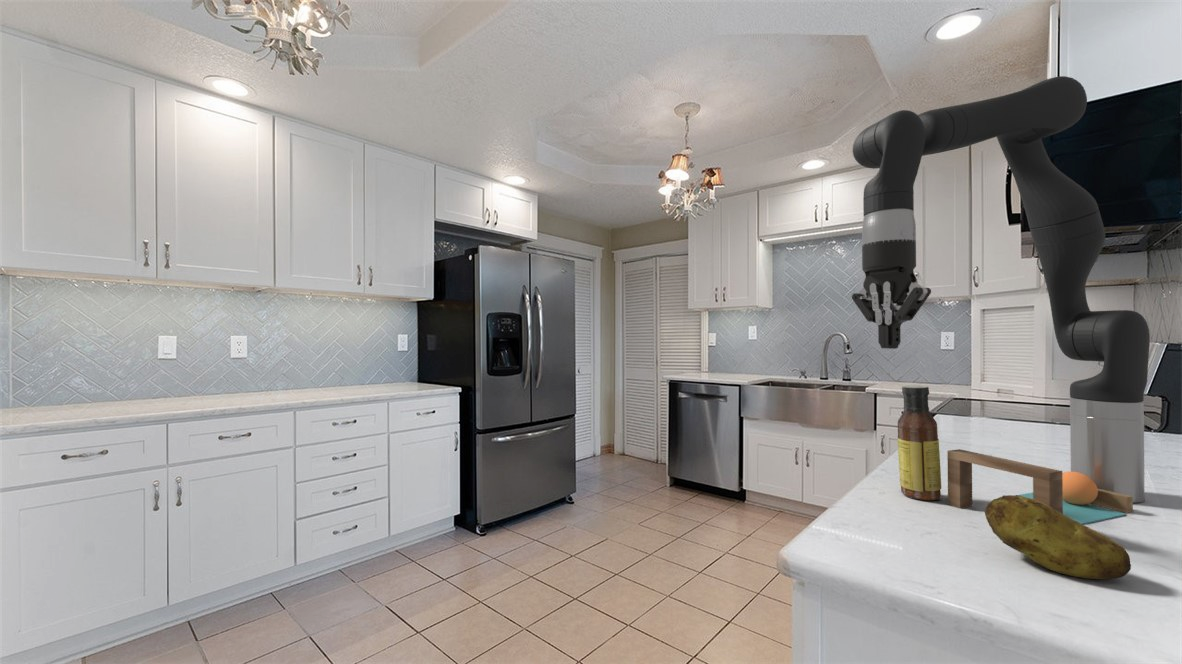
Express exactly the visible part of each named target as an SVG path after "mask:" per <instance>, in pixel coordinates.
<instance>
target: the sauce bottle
mask: <svg viewBox="0 0 1182 664" xmlns="http://www.w3.org/2000/svg"><path fill="white" fill-rule="evenodd" d="M929 389H930V388H929V386H928V385H916V384H914V385H913V384H910V385H903V386H902V387H901V393H902V394H903V412H902V413H901V415H900V417H899V418H898V420H897V450H898V451H897V453H898V468H899V485H900V489H901V493H902V494H903V495H904V496H906V497H908V498H910V499H915V500H920V501H938V500H940V499H941V496H942V493H941V489H942V477H941V476H942V475H941V473H942V471H941V455H940V454H941V453H940V440H939V433H938V423H937V421H936V420H935V418H934V417H933V415H932V413H931V412H930V407H929V394H930V390H929Z"/></svg>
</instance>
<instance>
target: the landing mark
mask: <svg viewBox="0 0 1182 664" xmlns="http://www.w3.org/2000/svg"><path fill="white" fill-rule="evenodd" d="M1019 495H1020V496H1023V497H1027V498H1031V499H1033V492H1029V493H1028V492H1027V493H1023V494H1022V493H1021V494H1019ZM994 499H995V498H993V499H992V500H994ZM1063 514H1064V515H1065V516H1067V517H1069V518H1071V519H1073V520H1074V521H1077V522H1079V523H1080V524H1082V525H1087V524H1091V523H1096V522H1101V521H1105V520H1111V519H1115V518H1120V517H1124V516H1127V514H1126V513H1125V512H1121V511H1117V510H1113V509H1109V508H1105V507H1101V506H1097V505H1093V504H1086V505H1075V504H1070V503H1067V502H1065V501H1064V500H1063Z"/></svg>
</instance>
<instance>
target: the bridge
mask: <svg viewBox="0 0 1182 664" xmlns="http://www.w3.org/2000/svg"><path fill="white" fill-rule="evenodd" d="M946 452H947V505H949V506H951V507H956V508H959V509H964V508H968V507H973V465H978V466H980V467H981V466H983V467H986V468H990V469H994V470H999V471H1004V472H1008V473H1012V474H1017V475H1020V476H1025V477H1030V478H1032V487H1033V488H1032V493H1033V499H1035V500H1038V501H1040V502H1042V503H1044V504H1046V505H1048V506H1050V507H1052V508H1053V509H1055V510H1056V511H1058V512H1060V513H1062V514H1063V481H1062V473H1063V470H1059V469H1055V468H1051V467H1045V466H1041V465H1036V464H1032V463H1026V462H1021V461H1017V460H1013V459H1007V458H1004V457H1003V458H1002V457H997V456H993V455H988V454H984V453H979V452H975V451H970V450H965V449H958V448H957V449H952V450H947V451H946Z"/></svg>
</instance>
